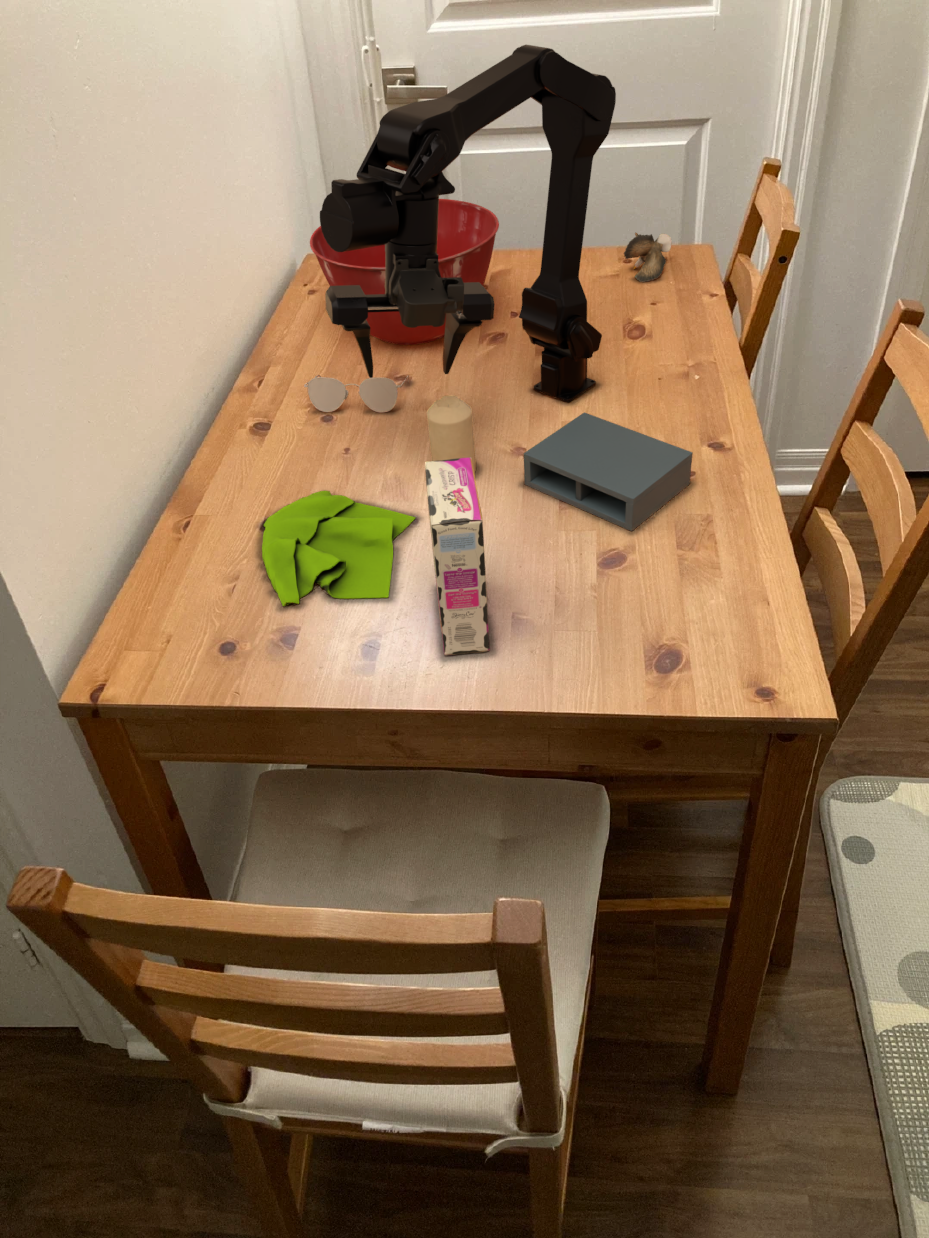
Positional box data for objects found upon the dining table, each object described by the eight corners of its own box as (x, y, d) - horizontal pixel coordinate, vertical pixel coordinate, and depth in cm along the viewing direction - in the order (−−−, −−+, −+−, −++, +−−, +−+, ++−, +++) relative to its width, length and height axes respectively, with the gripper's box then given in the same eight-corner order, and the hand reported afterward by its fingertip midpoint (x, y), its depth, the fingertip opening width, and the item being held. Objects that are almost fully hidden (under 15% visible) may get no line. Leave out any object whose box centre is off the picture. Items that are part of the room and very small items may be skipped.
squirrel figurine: (621, 252, 170) (612, 263, 162) (646, 216, 166) (638, 226, 158) (656, 279, 170) (649, 291, 163) (682, 244, 166) (676, 254, 159)
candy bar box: (493, 652, 98) (484, 520, 88) (444, 658, 98) (428, 526, 87) (482, 582, 107) (472, 454, 96) (436, 587, 107) (421, 459, 96)
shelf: (583, 442, 127) (584, 412, 124) (689, 484, 118) (693, 452, 115) (524, 484, 120) (523, 453, 117) (631, 531, 112) (633, 499, 109)
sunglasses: (306, 412, 138) (301, 377, 135) (322, 391, 145) (317, 358, 142) (403, 412, 136) (400, 377, 133) (414, 392, 143) (411, 358, 140)
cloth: (318, 483, 124) (315, 466, 122) (458, 534, 114) (457, 517, 112) (200, 570, 112) (195, 553, 110) (346, 636, 102) (342, 619, 100)
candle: (471, 484, 121) (466, 413, 115) (428, 482, 122) (420, 411, 116) (479, 460, 125) (475, 390, 119) (438, 458, 126) (431, 388, 120)
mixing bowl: (290, 331, 158) (271, 235, 147) (424, 275, 171) (415, 183, 161) (402, 387, 141) (389, 283, 131) (540, 320, 155) (538, 221, 144)
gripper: (338, 261, 99) (341, 406, 108) (513, 258, 104) (502, 397, 113) (322, 233, 108) (326, 369, 117) (484, 231, 112) (476, 362, 121)
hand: (408, 375), depth 117 cm, fingers open, 9 cm apart
